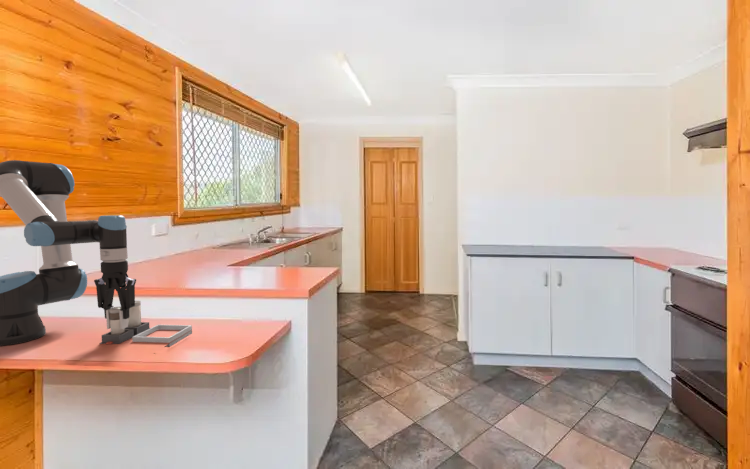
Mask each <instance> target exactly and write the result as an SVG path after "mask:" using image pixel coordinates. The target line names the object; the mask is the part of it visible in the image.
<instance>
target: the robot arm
mask: <svg viewBox="0 0 750 469" xmlns="http://www.w3.org/2000/svg"><path fill="white" fill-rule="evenodd" d="M74 190H75V178H74V176H73V173H72V171H71V170H70V169H69V168H68V166H65V165H63V164H58V163H52V162H41V161H40V162H39V161H28V160H20V159H19V160H16V159H12V160H4V161H1V162H0V197H1V198H2V199H3V200H4V201H5V202H6V204H7V205H8V206H9V207H10V209H11V210H12V211H13V212H14V214H16V215H17V217H18V218H19V219H20V220H21V221H22V223H23V224H24V225H25V226H24V228H23V229H24V230H23V237H24V238H25V243H27V245H29V246H31V247H41V255H42V262H43V263H42V265H41V266H40V267H39V269H38V273H36V271H32V270H24V271H21V272H20V271H18V272H12V273H8V274H4V275H0V346H1V347H2V346H10V345H17V344H22V343H26V342H30V341H33V340H36V339H39V338H41V337H43V336H45V335H46V334H47V330H46V329H47V328H46V326H45V325H44V323H43V320H42V319H41V316H40V315H39V306H43V305H50V304H53V303H59V302H65V301H70V300H74V299H79V298H80V297H82V296H83V295H84V293H85V292H86V289H87V287H88V276H87V273H86V271H85V270H84V269H83V268H80V267H79V264H78V263H77V262H74V260H73V253H72V246H71V245H75V244H89V243H91V244H92V243H99V255H100V257H99V258H100V259H99V260H100V261H101V263H100V273H102V275H101V277H100V278H97V279H94V280H93V282H94V284H95V287H96V288H95V289H96V299H97V307H98V308H99V309H103V310H104V319H106V329H107V330H109V329H110V330H111V328H110V312H109V309H110V308H113V307H115V306H114V305H113V303H114V294H115V291H116V293H117V296H118V300H119V305H120V307H121V309H120V310H119V316H120V329H124V328H126V327H128V318H129V309H130V308H131V307H134V306H135V301H136V297H135V296H136V294H135V293H136V289H135V288H136V286H135V285H136V283H137V279H136V278H130V277H129V275H128V270H129V262H128V260H127V259H128V244H127V243H128V242H127V241H128V239H127V227H128V226H127V223H126V217H125V216H124V215H116V214H115V215H112V214H111V215H100V216H99V217H98V219H97V220H95V219H94V220H81V221H80V220H79V221H78V220H77V221H75V220H72V221H70V220H69V221H68V218H67V209H66V203H65V202H66V201H67V200H68V199H69V198H70V194H72V193H73V192H74Z"/></svg>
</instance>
